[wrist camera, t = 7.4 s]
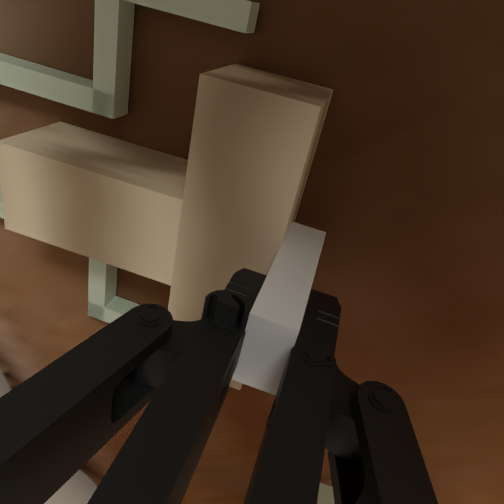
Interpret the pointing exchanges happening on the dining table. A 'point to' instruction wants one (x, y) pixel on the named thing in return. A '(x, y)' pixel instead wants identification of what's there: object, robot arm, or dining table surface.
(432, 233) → the dining table surface
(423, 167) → the dining table surface
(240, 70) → the t block
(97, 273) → the t outline
